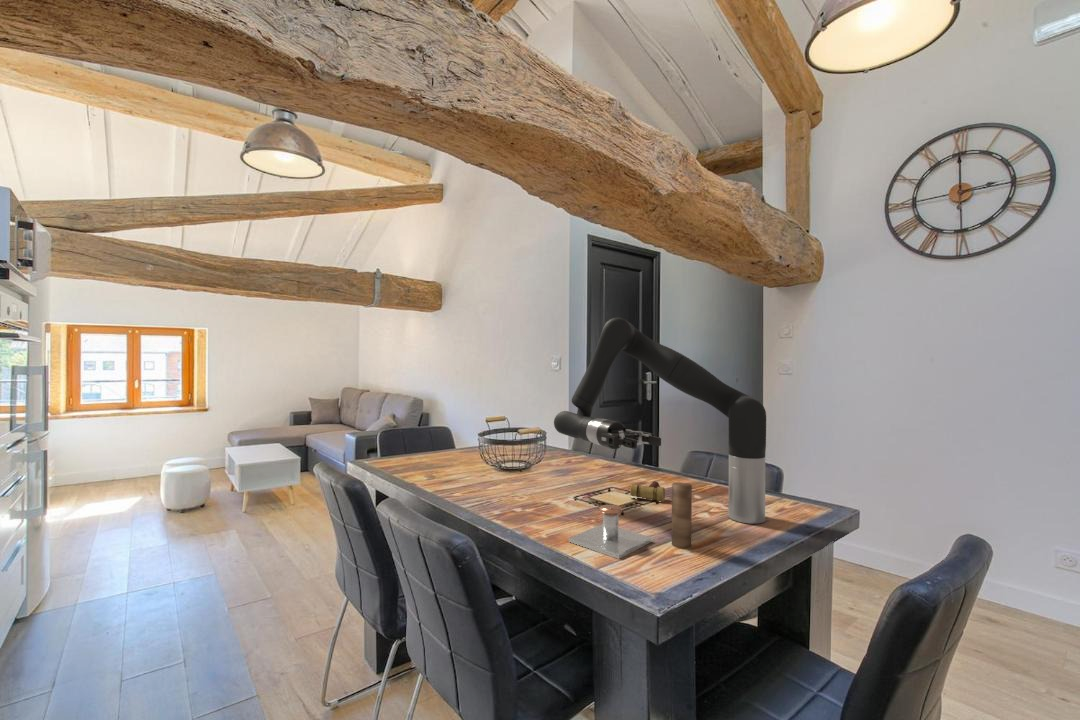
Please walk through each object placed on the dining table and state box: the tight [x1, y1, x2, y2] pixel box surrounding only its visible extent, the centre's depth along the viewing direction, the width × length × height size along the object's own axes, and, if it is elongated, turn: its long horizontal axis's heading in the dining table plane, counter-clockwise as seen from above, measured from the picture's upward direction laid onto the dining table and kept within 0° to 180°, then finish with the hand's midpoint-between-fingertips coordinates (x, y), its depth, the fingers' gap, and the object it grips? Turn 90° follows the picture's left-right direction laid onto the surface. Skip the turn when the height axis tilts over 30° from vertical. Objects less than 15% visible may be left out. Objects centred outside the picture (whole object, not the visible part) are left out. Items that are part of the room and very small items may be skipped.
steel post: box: [568, 504, 653, 560], centre depth 114 cm, size 14×14×8 cm
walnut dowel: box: [671, 481, 693, 549], centre depth 112 cm, size 4×4×14 cm
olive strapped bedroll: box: [629, 480, 666, 503], centre depth 157 cm, size 21×5×10 cm
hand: (648, 443), depth 122 cm, fingers open, 8 cm apart
